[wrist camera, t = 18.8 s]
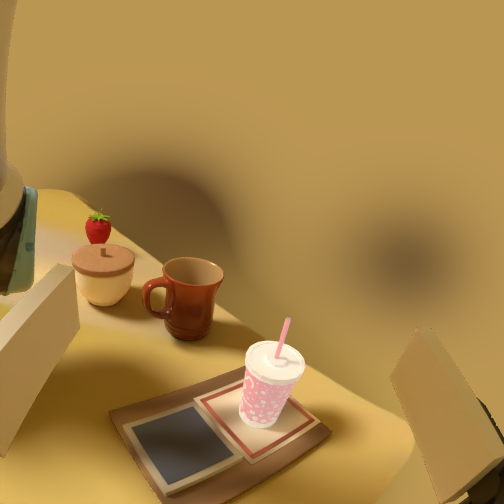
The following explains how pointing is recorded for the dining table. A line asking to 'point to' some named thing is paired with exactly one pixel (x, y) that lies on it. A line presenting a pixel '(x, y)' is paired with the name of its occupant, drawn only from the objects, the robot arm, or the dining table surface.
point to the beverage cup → (269, 380)
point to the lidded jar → (103, 272)
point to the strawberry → (98, 228)
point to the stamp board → (212, 441)
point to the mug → (186, 296)
